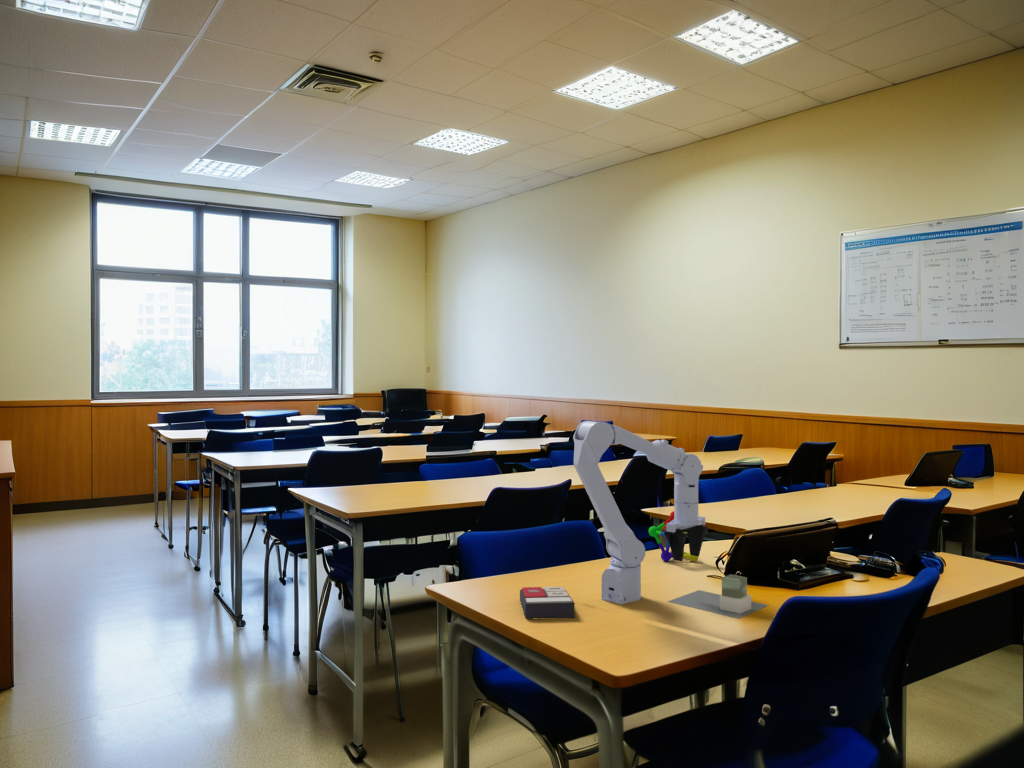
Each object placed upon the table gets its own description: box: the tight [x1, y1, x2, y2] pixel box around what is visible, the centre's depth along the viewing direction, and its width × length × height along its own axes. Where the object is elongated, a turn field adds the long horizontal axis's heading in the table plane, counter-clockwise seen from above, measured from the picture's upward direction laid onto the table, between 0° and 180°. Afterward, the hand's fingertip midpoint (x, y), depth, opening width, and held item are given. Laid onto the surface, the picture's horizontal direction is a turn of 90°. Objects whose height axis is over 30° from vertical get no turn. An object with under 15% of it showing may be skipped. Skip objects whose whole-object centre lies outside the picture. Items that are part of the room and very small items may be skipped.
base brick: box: [719, 594, 752, 614], centre depth 160 cm, size 5×5×3 cm
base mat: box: [667, 589, 770, 620], centre depth 164 cm, size 14×18×1 cm
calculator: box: [519, 586, 576, 620], centre depth 164 cm, size 11×4×15 cm
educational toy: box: [648, 510, 700, 562], centre depth 212 cm, size 16×13×15 cm
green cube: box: [721, 573, 748, 599], centre depth 160 cm, size 4×4×4 cm
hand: (686, 557), depth 174 cm, fingers open, 7 cm apart
